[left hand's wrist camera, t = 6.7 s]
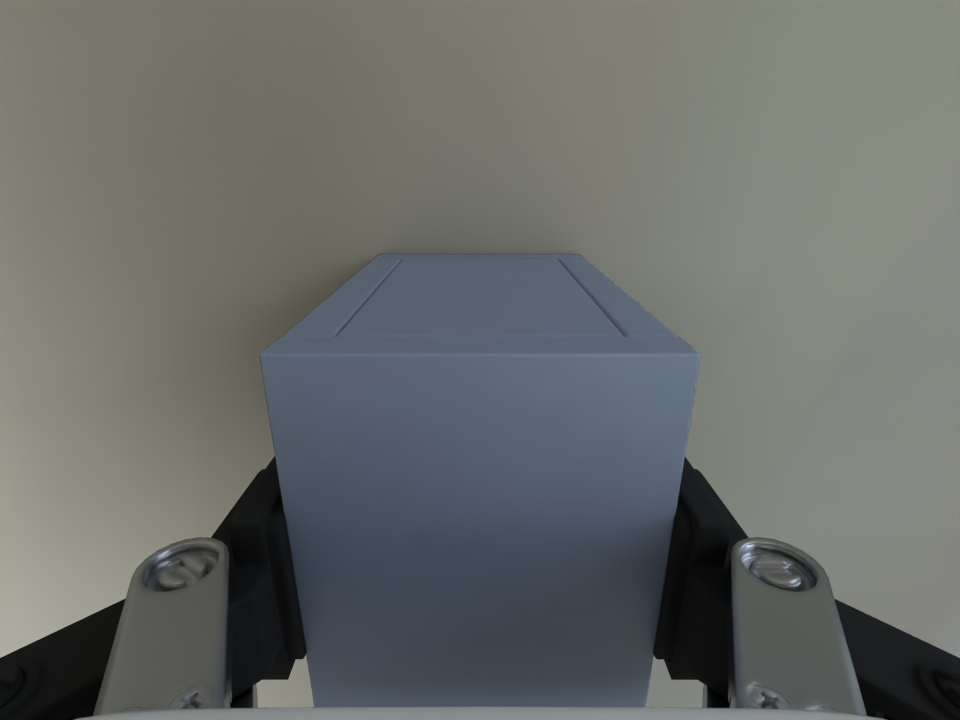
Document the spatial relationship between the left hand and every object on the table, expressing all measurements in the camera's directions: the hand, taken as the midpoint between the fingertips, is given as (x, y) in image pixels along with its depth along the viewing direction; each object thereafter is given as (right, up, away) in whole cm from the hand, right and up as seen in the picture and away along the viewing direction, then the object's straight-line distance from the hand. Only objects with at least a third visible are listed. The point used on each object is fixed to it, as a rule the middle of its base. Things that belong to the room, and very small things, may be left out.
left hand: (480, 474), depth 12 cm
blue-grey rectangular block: (0, -3, +7) cm, 8 cm away
